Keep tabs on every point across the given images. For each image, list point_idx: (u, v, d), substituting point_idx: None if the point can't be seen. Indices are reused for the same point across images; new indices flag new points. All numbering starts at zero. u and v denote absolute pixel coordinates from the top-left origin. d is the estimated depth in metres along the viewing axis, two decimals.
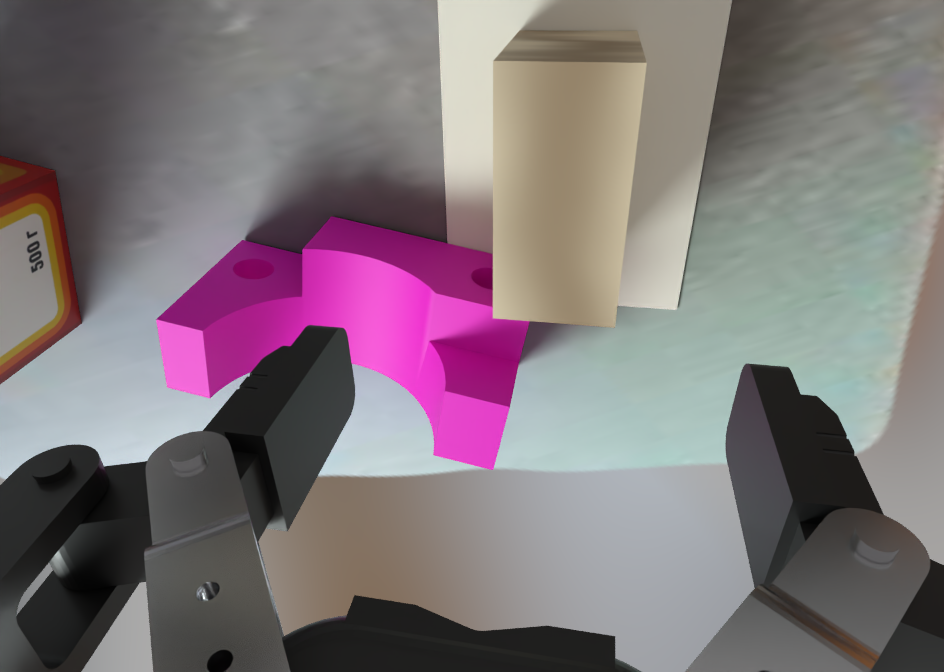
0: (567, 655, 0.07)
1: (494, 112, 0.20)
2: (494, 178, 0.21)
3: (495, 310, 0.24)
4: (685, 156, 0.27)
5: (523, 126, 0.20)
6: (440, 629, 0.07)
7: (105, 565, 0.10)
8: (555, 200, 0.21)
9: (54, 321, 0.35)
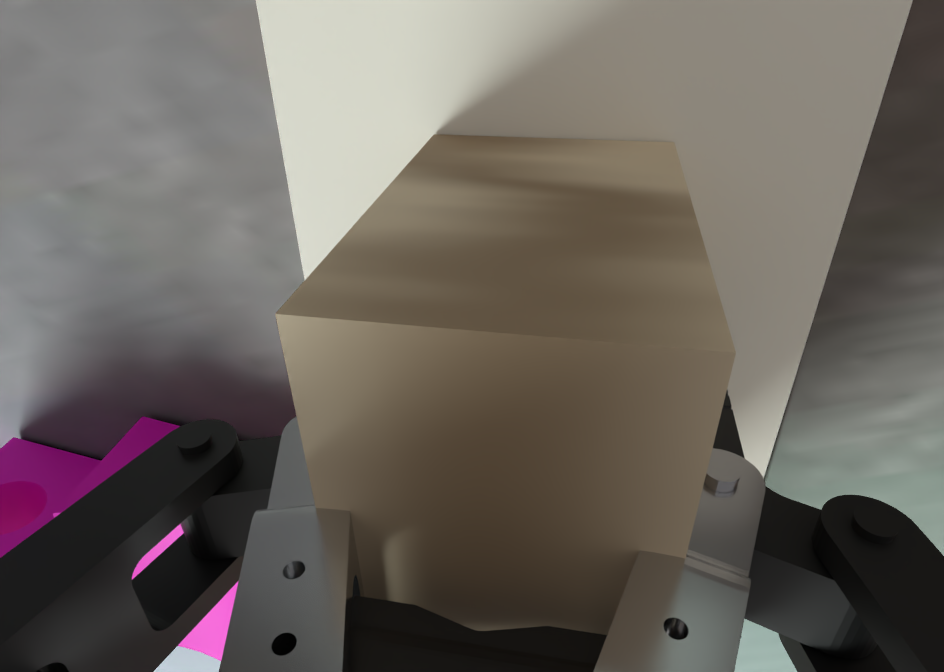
0: (567, 655, 0.07)
1: (302, 426, 0.07)
2: None
3: None
4: (759, 364, 0.14)
5: (383, 462, 0.07)
6: (441, 628, 0.07)
7: (240, 534, 0.10)
8: (479, 604, 0.08)
9: None
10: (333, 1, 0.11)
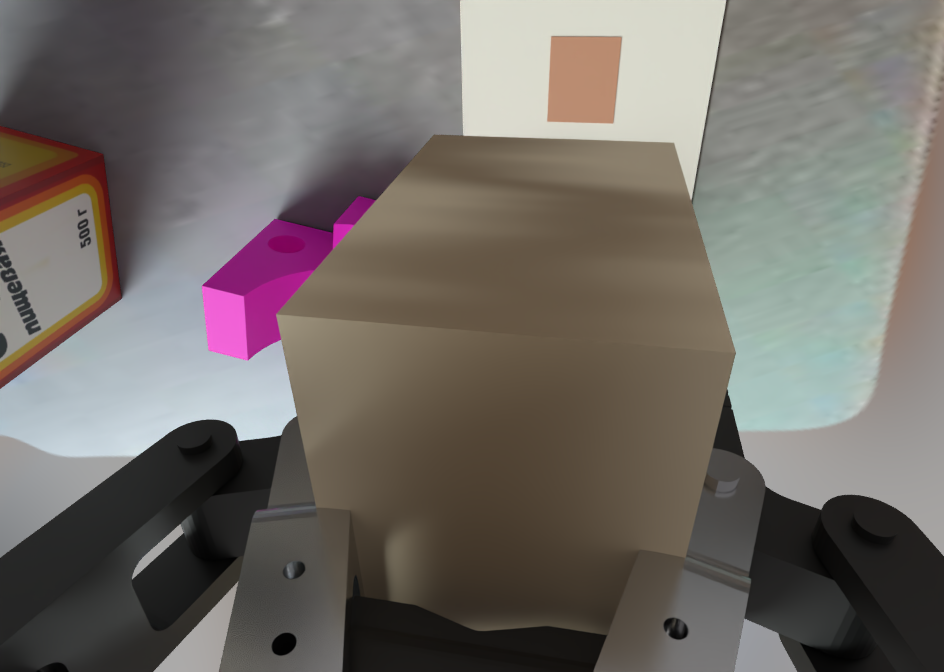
0: (567, 655, 0.07)
1: (303, 426, 0.07)
2: None
3: None
4: (684, 139, 0.29)
5: (384, 461, 0.07)
6: (440, 628, 0.07)
7: (240, 534, 0.10)
8: (480, 605, 0.09)
9: (98, 295, 0.38)
10: None
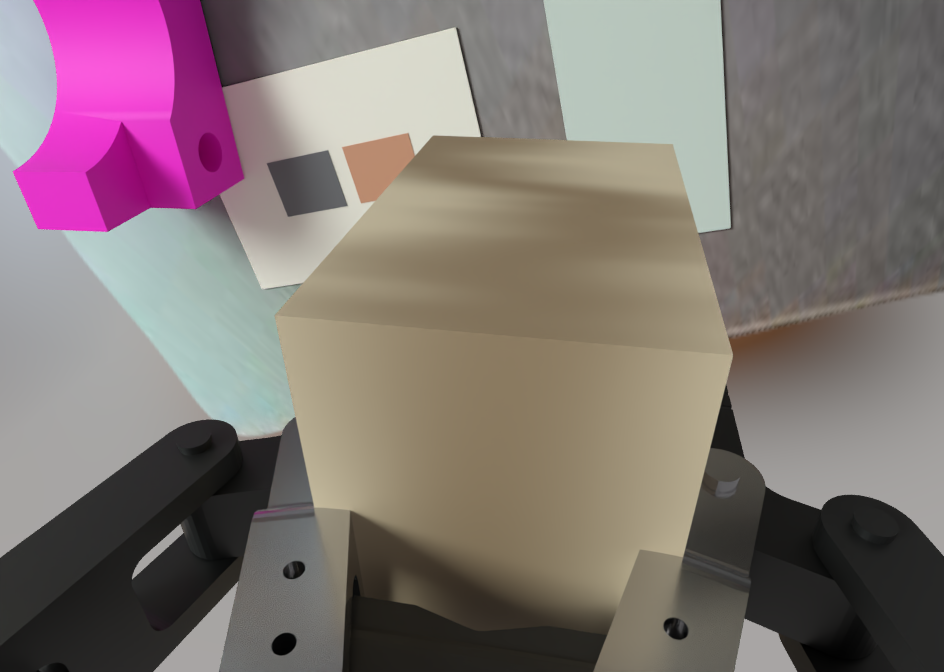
0: (567, 655, 0.07)
1: (302, 427, 0.07)
2: None
3: None
4: None
5: (383, 462, 0.07)
6: (440, 628, 0.07)
7: (240, 535, 0.10)
8: (477, 605, 0.09)
9: None
10: (448, 66, 0.29)
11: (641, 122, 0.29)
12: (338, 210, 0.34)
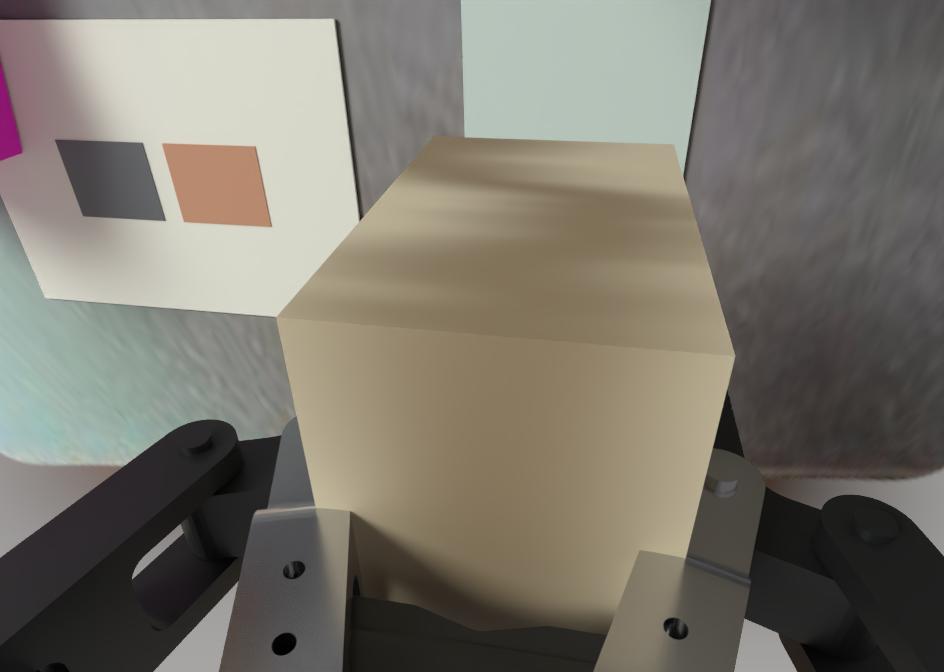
0: (567, 655, 0.07)
1: (303, 429, 0.07)
2: None
3: None
4: (192, 293, 0.26)
5: (385, 464, 0.07)
6: (440, 629, 0.07)
7: (241, 534, 0.10)
8: (480, 606, 0.09)
9: None
10: (319, 70, 0.21)
11: None
12: (152, 224, 0.25)
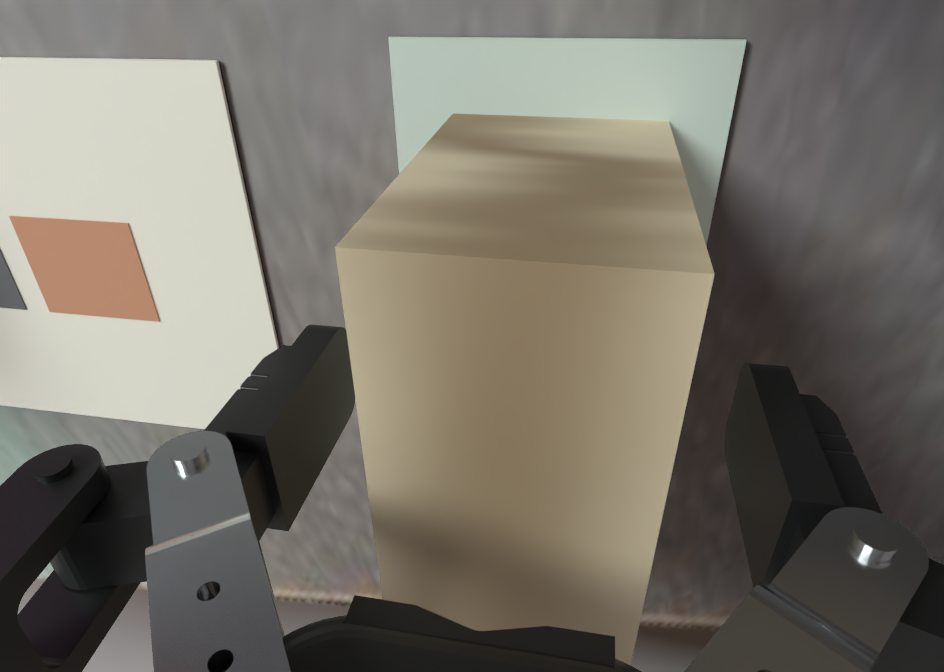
0: (567, 655, 0.07)
1: (352, 348, 0.09)
2: (367, 463, 0.10)
3: None
4: (72, 394, 0.21)
5: (420, 379, 0.09)
6: (440, 629, 0.07)
7: (107, 564, 0.10)
8: (497, 512, 0.10)
9: None
10: (203, 128, 0.15)
11: None
12: (11, 312, 0.19)
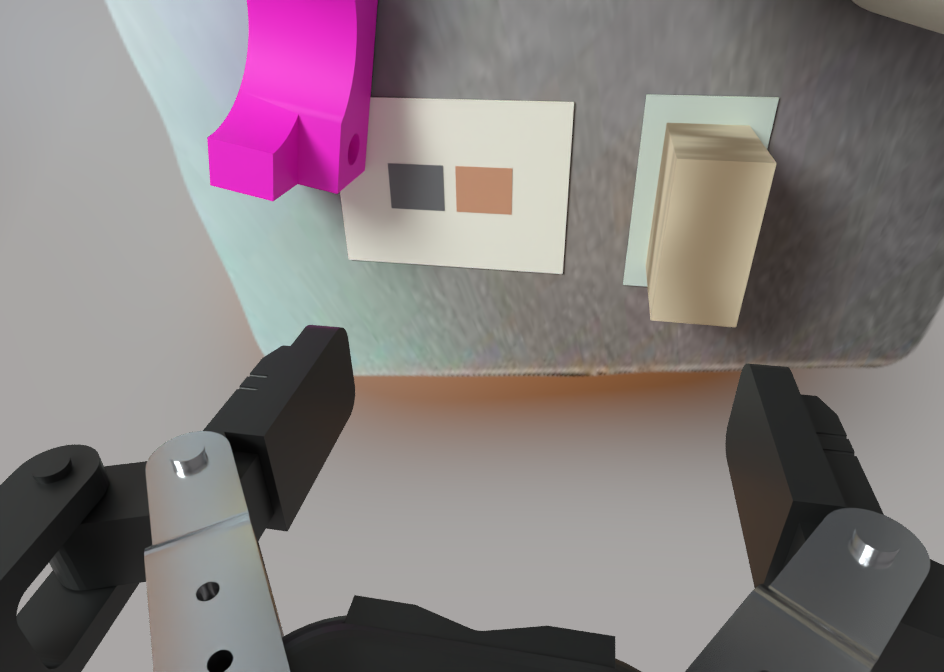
0: (567, 655, 0.07)
1: (673, 189, 0.31)
2: (666, 229, 0.32)
3: (653, 315, 0.35)
4: (448, 255, 0.44)
5: (691, 198, 0.31)
6: (440, 628, 0.07)
7: (105, 565, 0.10)
8: (705, 244, 0.32)
9: None
10: (560, 128, 0.38)
11: None
12: (435, 212, 0.42)
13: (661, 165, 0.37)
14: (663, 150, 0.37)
